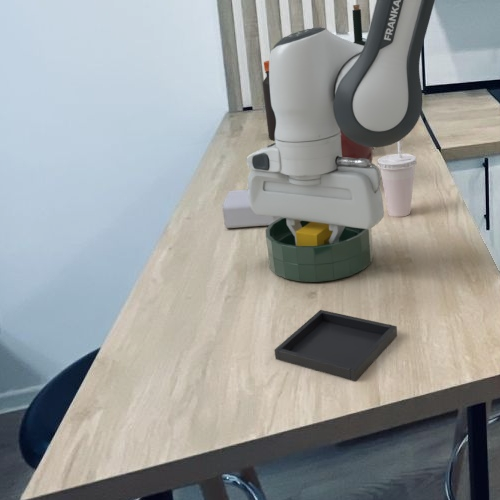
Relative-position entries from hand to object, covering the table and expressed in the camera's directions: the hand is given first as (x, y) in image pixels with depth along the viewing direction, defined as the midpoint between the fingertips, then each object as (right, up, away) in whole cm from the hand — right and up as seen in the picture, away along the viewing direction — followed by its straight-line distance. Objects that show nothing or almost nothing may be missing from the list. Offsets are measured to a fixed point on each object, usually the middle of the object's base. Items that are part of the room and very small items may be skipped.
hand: (317, 248), depth 95 cm
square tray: (0, -12, -19) cm, 23 cm away
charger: (-6, +5, +24) cm, 26 cm away
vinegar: (-1, +30, +82) cm, 87 cm away
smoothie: (+16, +6, +19) cm, 25 cm away
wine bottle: (+22, +37, +92) cm, 102 cm away
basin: (+1, -2, +3) cm, 4 cm away
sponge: (0, -2, +1) cm, 3 cm away
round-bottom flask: (+8, +12, +36) cm, 39 cm away
